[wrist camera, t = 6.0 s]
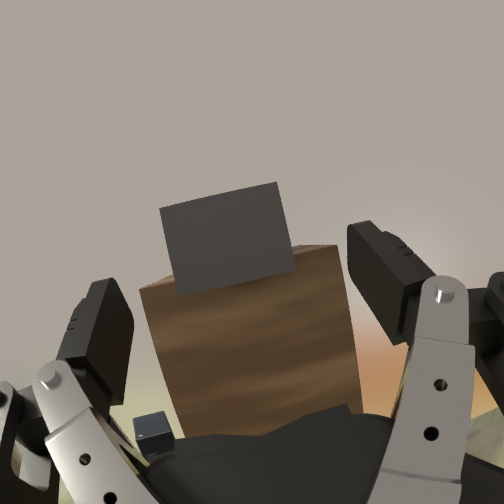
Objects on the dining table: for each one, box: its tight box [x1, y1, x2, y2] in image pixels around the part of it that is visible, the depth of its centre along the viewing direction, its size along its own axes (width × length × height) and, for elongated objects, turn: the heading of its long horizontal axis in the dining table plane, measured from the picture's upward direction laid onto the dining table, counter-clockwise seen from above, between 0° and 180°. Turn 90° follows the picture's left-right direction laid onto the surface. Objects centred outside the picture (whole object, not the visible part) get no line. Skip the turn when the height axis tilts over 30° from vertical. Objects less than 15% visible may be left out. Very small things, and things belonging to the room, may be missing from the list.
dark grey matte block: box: [160, 182, 296, 296], centre depth 20 cm, size 19×4×3 cm, turn 3°
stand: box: [139, 245, 363, 438], centre depth 25 cm, size 12×12×37 cm
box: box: [132, 411, 175, 464], centre depth 42 cm, size 8×6×11 cm
